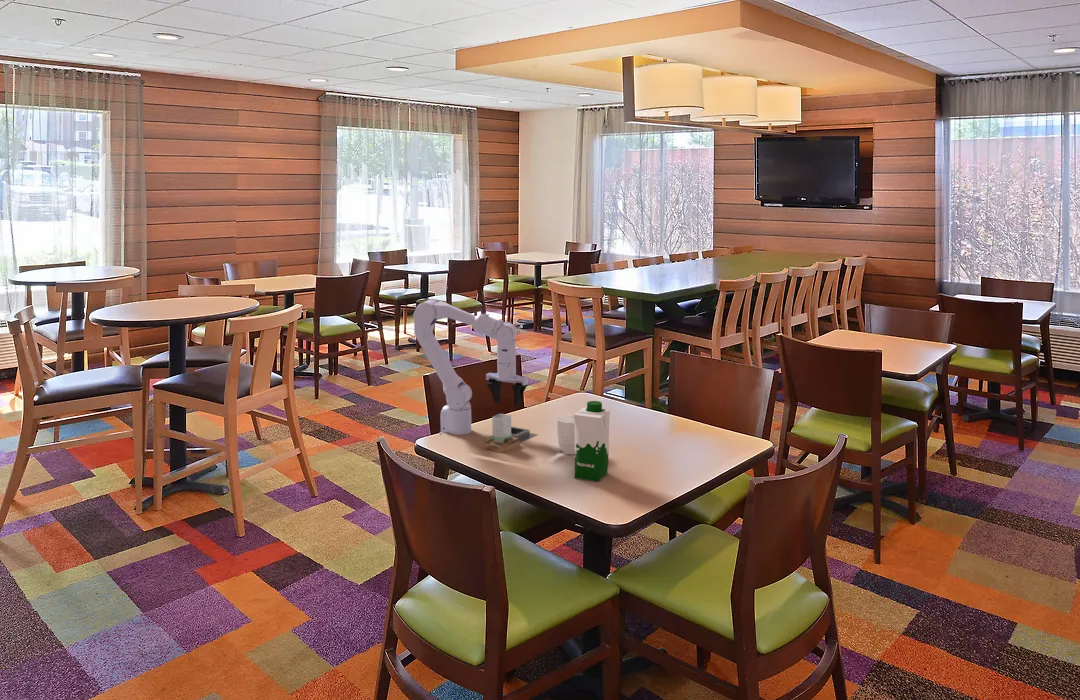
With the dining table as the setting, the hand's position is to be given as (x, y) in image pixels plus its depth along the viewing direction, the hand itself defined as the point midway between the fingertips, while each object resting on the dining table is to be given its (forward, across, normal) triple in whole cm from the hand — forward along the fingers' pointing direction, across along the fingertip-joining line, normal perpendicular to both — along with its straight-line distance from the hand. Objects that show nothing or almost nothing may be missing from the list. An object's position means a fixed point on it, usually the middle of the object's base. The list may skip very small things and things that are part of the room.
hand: (507, 404), depth 246 cm
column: (+8, -6, +12) cm, 15 cm away
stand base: (+10, -3, +1) cm, 11 cm away
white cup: (+11, -24, +2) cm, 26 cm away
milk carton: (+11, -39, +17) cm, 44 cm away
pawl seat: (+10, -6, +12) cm, 17 cm away
